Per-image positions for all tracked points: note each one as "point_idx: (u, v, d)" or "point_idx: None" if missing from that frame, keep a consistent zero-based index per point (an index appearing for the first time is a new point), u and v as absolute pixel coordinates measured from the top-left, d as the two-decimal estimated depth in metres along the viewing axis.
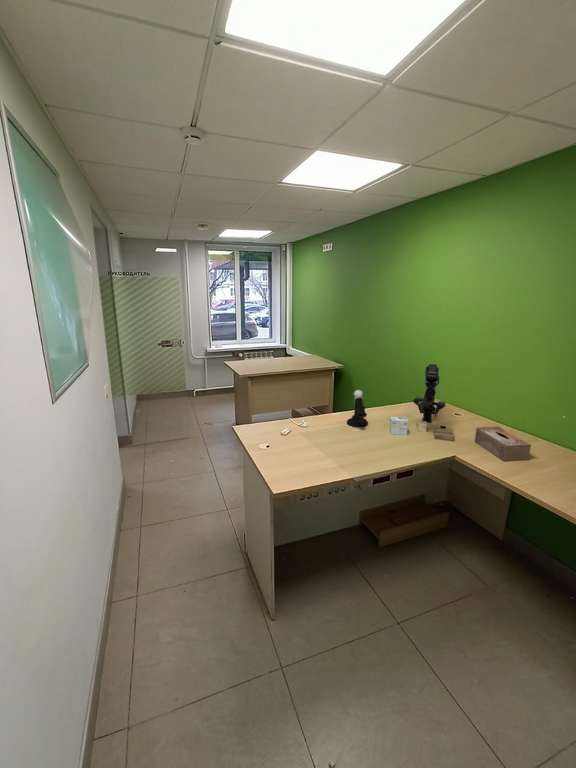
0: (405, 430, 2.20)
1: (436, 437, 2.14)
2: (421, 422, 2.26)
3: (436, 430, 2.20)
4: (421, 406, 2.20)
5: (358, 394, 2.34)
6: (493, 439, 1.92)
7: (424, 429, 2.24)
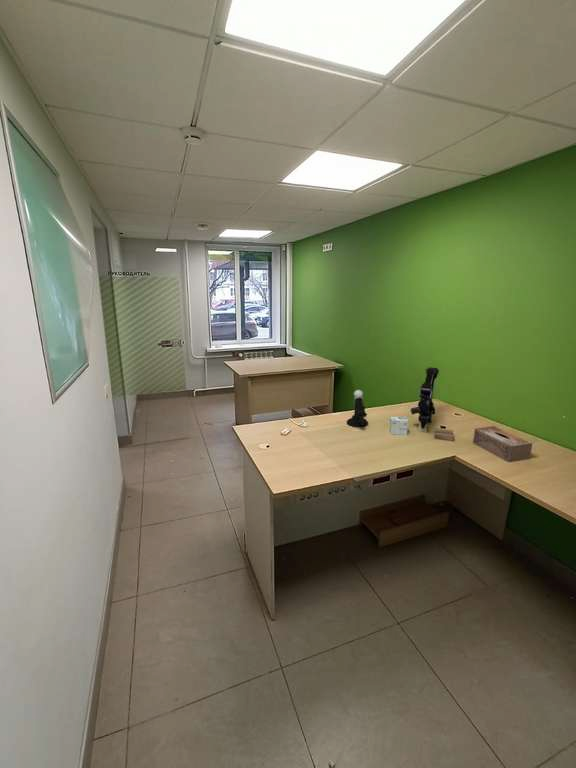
0: (405, 430, 2.20)
1: (436, 437, 2.14)
2: None
3: (436, 430, 2.20)
4: None
5: (358, 394, 2.34)
6: (495, 440, 1.91)
7: (424, 429, 2.24)
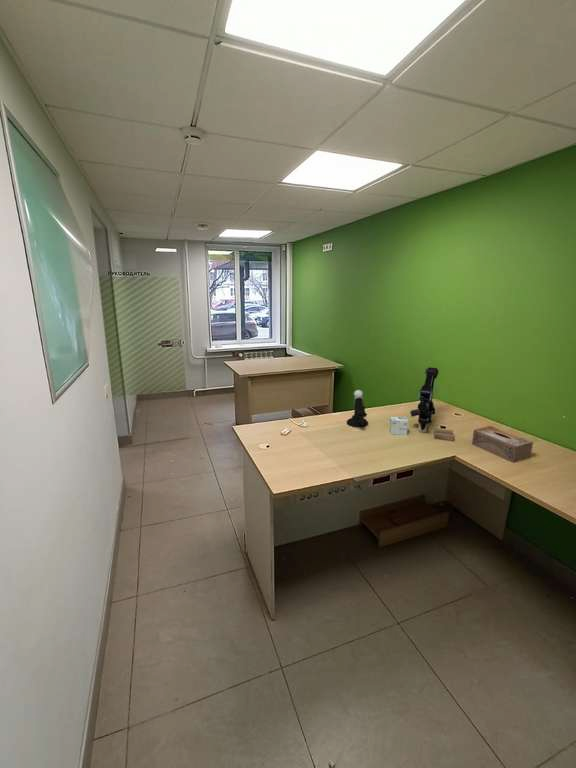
0: (405, 430, 2.20)
1: (436, 437, 2.14)
2: None
3: (436, 430, 2.20)
4: None
5: (358, 394, 2.34)
6: (497, 440, 1.90)
7: (424, 429, 2.24)
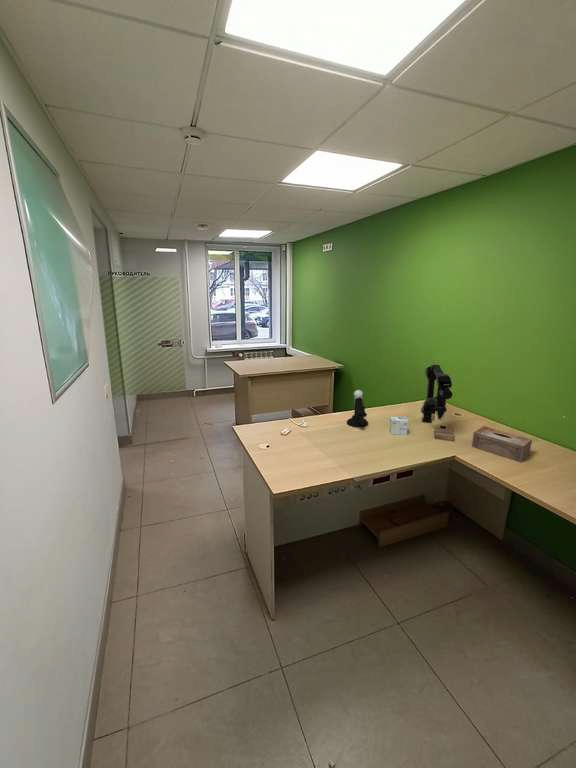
0: (405, 430, 2.20)
1: (436, 437, 2.14)
2: None
3: (436, 430, 2.20)
4: None
5: (358, 394, 2.34)
6: (502, 441, 1.89)
7: (441, 418, 2.14)
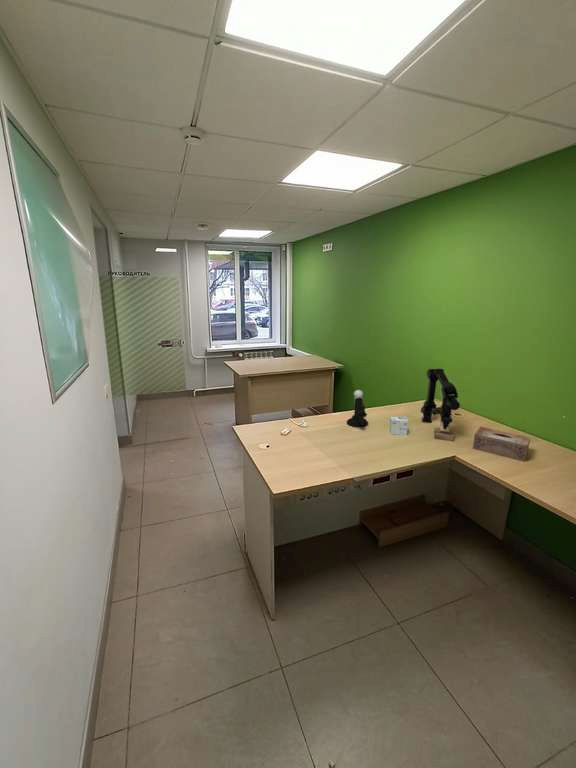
0: (405, 430, 2.20)
1: (436, 437, 2.14)
2: None
3: (436, 430, 2.20)
4: None
5: (358, 394, 2.34)
6: (505, 442, 1.89)
7: (446, 428, 2.13)
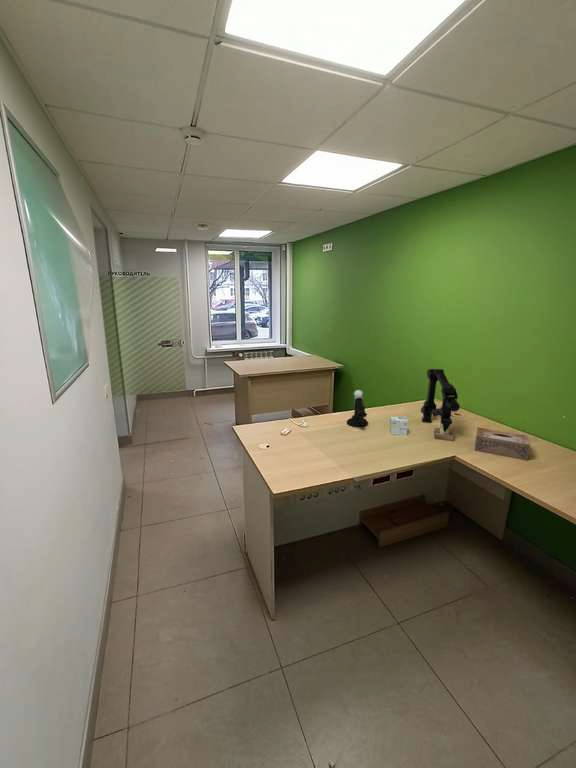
0: (405, 430, 2.20)
1: (436, 437, 2.14)
2: None
3: (436, 430, 2.20)
4: None
5: (358, 394, 2.34)
6: (507, 442, 1.88)
7: (446, 431, 2.14)
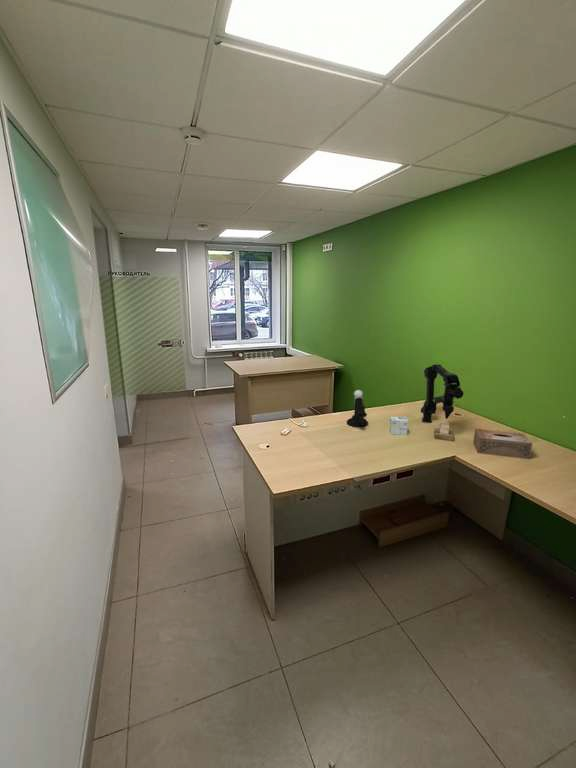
0: (405, 430, 2.20)
1: (436, 437, 2.14)
2: (443, 423, 2.15)
3: (436, 430, 2.20)
4: None
5: (358, 394, 2.34)
6: (510, 442, 1.88)
7: (446, 431, 2.14)
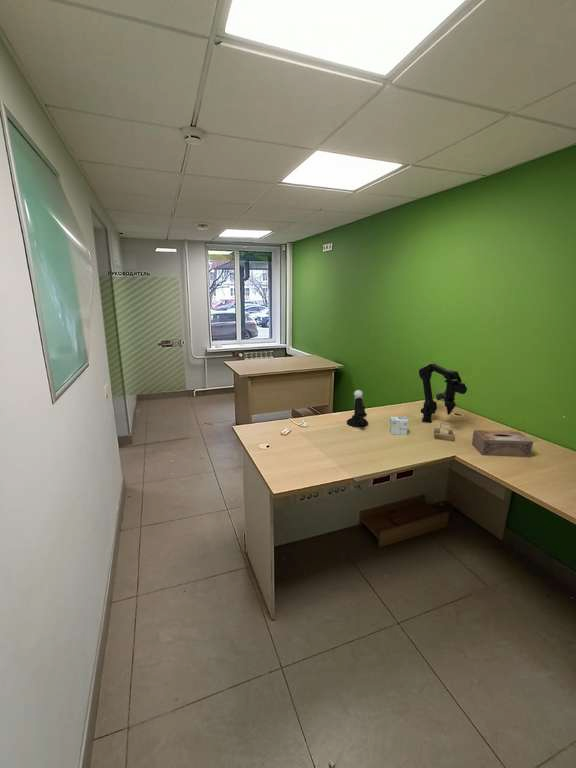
0: (405, 430, 2.20)
1: (436, 437, 2.14)
2: (443, 423, 2.15)
3: (436, 430, 2.20)
4: None
5: (358, 394, 2.34)
6: (513, 442, 1.88)
7: (446, 431, 2.14)
